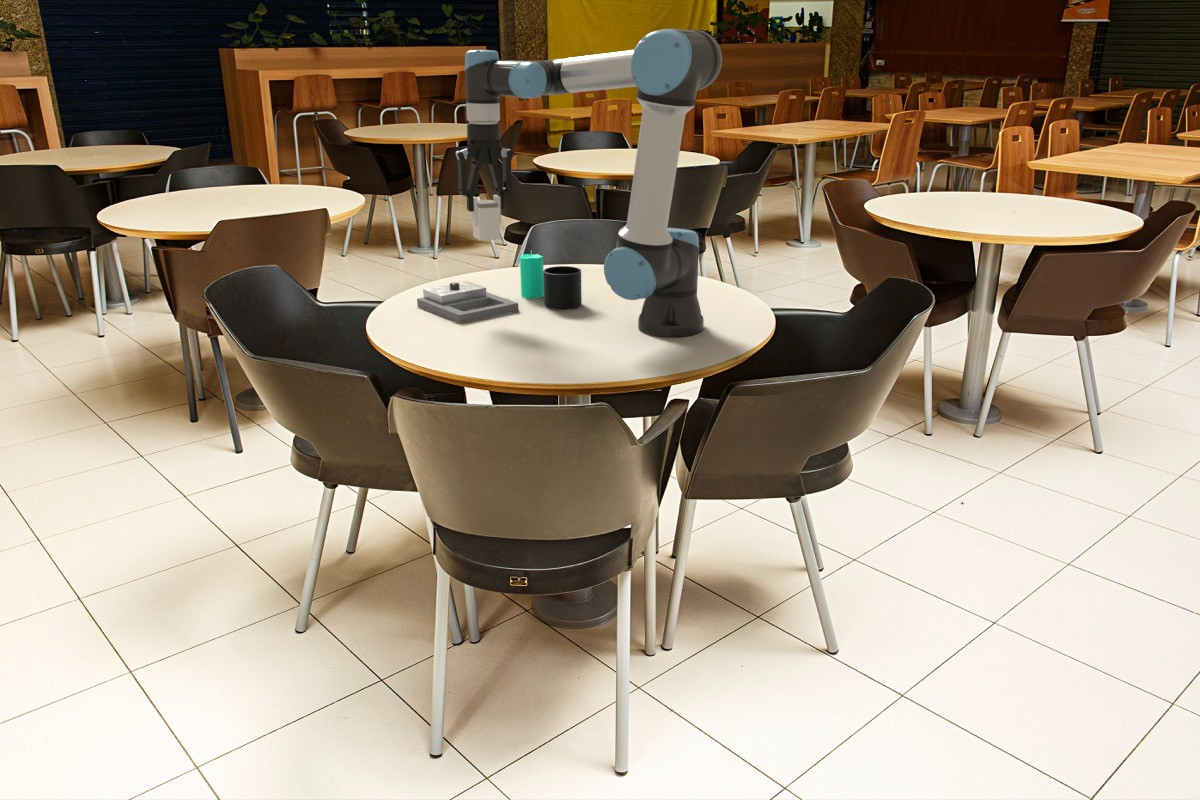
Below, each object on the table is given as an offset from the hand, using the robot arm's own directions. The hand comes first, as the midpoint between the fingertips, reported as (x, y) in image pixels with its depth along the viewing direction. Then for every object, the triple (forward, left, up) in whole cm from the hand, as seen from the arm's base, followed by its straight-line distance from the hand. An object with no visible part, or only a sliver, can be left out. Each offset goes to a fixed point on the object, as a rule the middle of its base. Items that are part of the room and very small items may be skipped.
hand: (486, 224), depth 220 cm
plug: (0, 0, -3) cm, 3 cm away
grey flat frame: (+7, +2, -22) cm, 23 cm away
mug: (-5, -19, -22) cm, 30 cm away
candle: (+7, -18, -22) cm, 29 cm away
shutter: (+13, +2, -20) cm, 24 cm away
